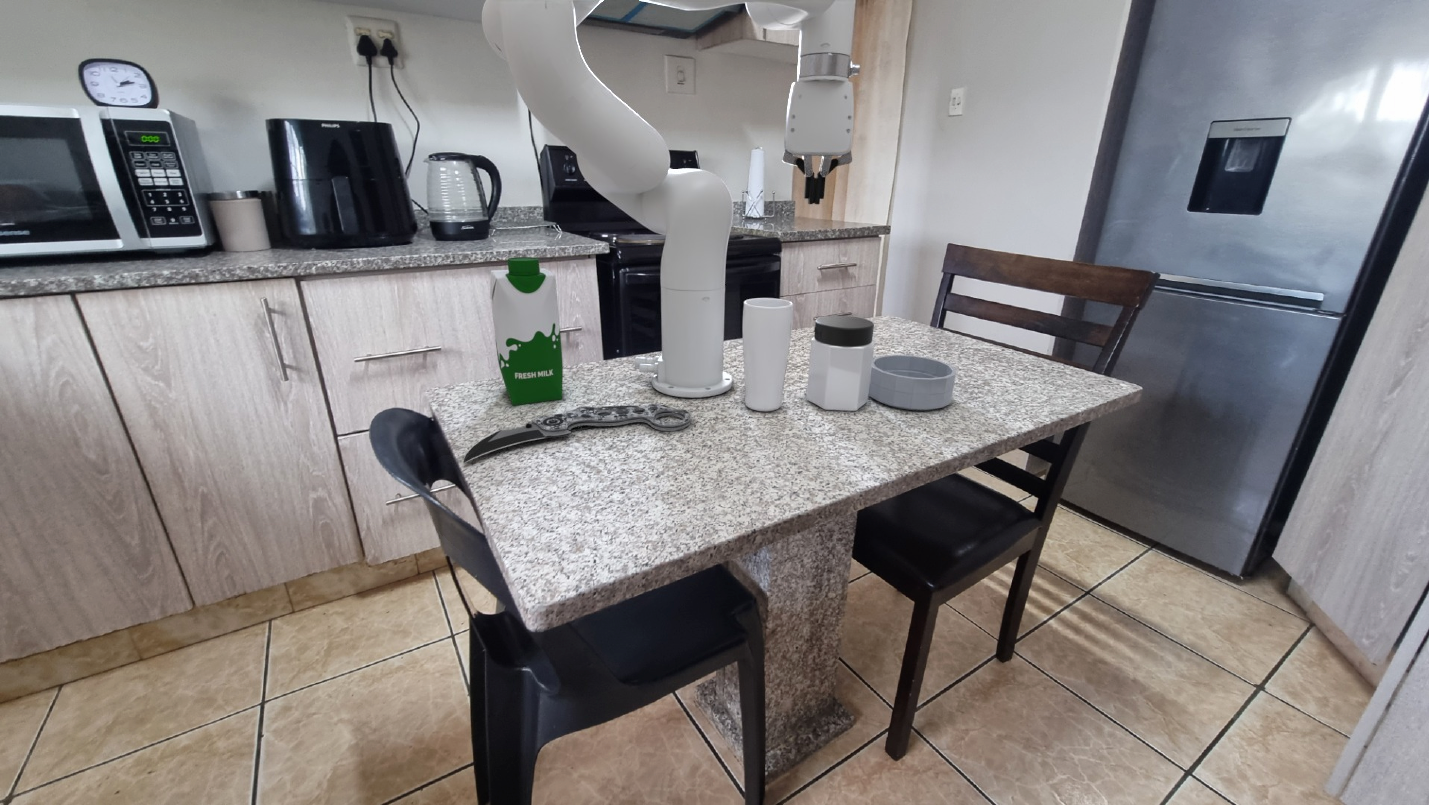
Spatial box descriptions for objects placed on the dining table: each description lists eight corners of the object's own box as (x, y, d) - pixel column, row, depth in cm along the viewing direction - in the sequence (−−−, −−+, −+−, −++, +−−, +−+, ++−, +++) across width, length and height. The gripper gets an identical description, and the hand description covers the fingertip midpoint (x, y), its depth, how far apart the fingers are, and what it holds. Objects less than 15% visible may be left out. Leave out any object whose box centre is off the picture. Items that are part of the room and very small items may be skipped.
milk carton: (506, 409, 81) (490, 262, 74) (499, 388, 88) (483, 254, 81) (570, 400, 84) (559, 259, 77) (557, 381, 92) (547, 252, 85)
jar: (823, 387, 92) (830, 312, 87) (873, 398, 87) (883, 320, 83) (798, 404, 85) (804, 323, 80) (851, 416, 80) (860, 331, 76)
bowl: (874, 410, 83) (879, 377, 81) (860, 383, 94) (863, 353, 92) (962, 414, 82) (968, 380, 80) (936, 386, 93) (941, 356, 92)
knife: (462, 458, 63) (458, 420, 72) (464, 470, 64) (459, 432, 72) (701, 423, 75) (673, 394, 83) (700, 434, 75) (673, 404, 83)
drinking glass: (773, 418, 79) (779, 309, 74) (730, 408, 83) (734, 303, 77) (794, 403, 85) (801, 301, 79) (753, 394, 88) (757, 295, 83)
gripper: (869, 77, 89) (857, 204, 95) (771, 76, 90) (765, 202, 96) (879, 68, 82) (865, 205, 88) (773, 67, 83) (766, 203, 89)
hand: (813, 203), depth 92 cm, fingers closed
